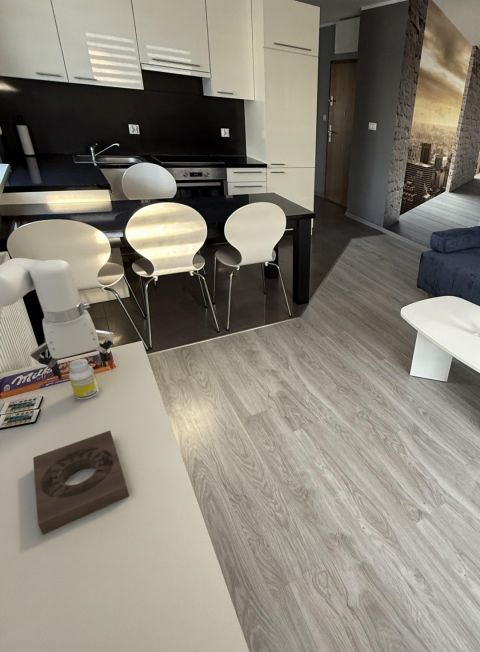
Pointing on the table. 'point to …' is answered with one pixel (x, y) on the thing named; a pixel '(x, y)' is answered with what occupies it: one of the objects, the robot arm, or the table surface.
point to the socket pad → (83, 498)
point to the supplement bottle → (83, 379)
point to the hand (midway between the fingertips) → (82, 370)
